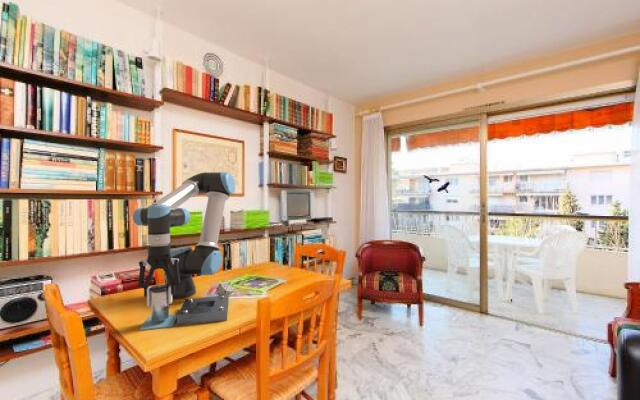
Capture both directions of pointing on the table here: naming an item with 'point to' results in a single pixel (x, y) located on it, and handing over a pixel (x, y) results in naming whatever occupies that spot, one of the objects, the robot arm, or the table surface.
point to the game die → (224, 289)
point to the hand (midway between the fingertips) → (159, 303)
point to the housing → (203, 310)
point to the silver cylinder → (159, 302)
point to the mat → (159, 323)
